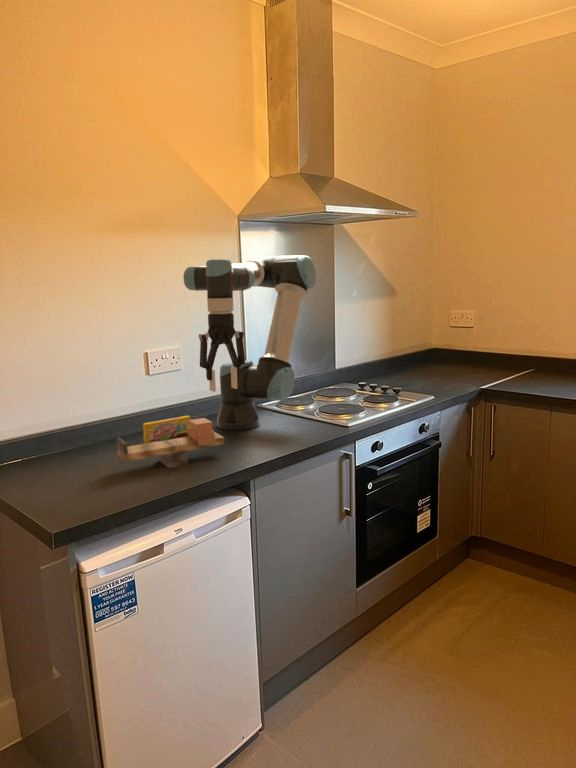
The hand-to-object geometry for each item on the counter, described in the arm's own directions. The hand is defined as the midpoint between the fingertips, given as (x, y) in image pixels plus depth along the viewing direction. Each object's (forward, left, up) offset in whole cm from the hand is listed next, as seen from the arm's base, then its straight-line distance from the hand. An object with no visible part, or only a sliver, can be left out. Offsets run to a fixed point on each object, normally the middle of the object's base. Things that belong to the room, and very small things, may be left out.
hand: (223, 389), depth 179 cm
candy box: (+12, -19, -20) cm, 30 cm away
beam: (+17, 0, -20) cm, 26 cm away
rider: (+8, 0, -15) cm, 17 cm away
